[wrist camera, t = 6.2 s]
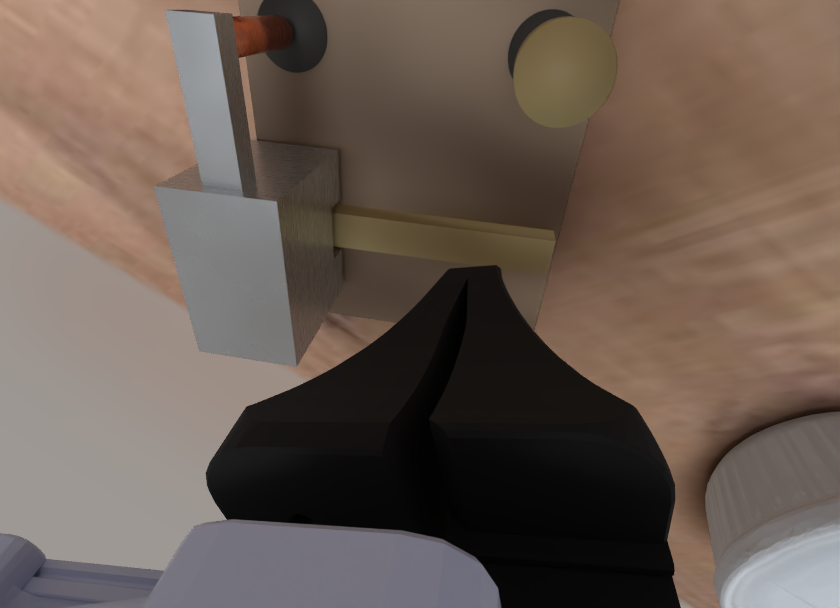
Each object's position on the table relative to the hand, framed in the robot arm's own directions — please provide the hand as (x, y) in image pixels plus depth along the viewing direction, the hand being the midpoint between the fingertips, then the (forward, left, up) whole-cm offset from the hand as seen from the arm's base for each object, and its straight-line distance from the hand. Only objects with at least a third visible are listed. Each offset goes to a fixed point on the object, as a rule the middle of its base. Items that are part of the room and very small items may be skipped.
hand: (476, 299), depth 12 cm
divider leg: (+6, -2, -4) cm, 7 cm away
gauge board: (+3, -2, -5) cm, 6 cm away
